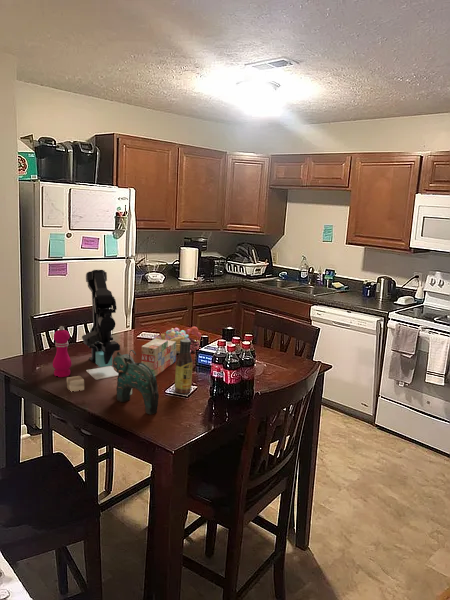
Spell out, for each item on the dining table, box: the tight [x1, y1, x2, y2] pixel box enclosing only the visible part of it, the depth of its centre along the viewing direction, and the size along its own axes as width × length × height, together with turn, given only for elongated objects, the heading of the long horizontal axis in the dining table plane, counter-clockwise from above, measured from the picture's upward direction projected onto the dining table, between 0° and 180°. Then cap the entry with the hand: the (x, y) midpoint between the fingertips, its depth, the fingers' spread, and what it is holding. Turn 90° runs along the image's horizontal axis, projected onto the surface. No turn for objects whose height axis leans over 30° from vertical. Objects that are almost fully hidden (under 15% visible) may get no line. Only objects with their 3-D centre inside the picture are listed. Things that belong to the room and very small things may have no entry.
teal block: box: [95, 351, 113, 368], centre depth 204 cm, size 5×5×5 cm
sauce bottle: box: [174, 339, 194, 394], centre depth 189 cm, size 6×6×20 cm
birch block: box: [66, 375, 85, 393], centre depth 188 cm, size 5×5×4 cm
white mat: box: [85, 365, 118, 381], centre depth 205 cm, size 11×11×1 cm
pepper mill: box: [52, 325, 72, 378], centre depth 199 cm, size 7×7×20 cm
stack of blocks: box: [140, 338, 177, 377], centre depth 213 cm, size 21×6×12 cm, turn 161°
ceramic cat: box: [112, 349, 160, 416], centre depth 174 cm, size 20×6×20 cm, turn 51°
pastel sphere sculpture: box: [153, 326, 202, 354], centre depth 244 cm, size 25×24×9 cm
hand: (103, 362), depth 204 cm, fingers closed on teal block, 5 cm apart
